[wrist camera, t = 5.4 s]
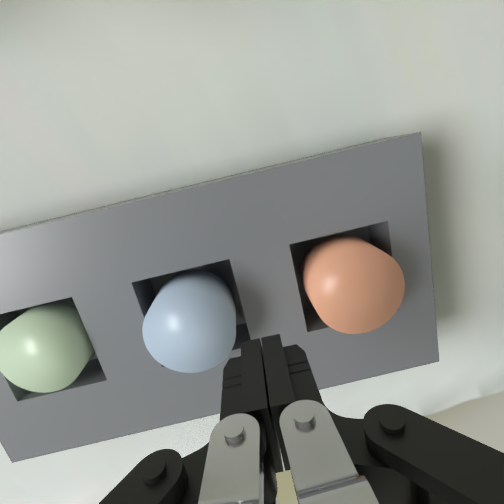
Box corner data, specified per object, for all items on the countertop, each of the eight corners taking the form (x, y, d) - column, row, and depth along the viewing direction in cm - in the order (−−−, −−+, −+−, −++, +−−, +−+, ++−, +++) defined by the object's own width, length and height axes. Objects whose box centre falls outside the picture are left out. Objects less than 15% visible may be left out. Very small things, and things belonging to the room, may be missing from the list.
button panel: (385, 138, 20) (420, 132, 16) (406, 329, 24) (439, 361, 20) (-41, 241, 21) (-104, 259, 17) (47, 415, 24) (12, 462, 21)
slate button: (224, 261, 19) (223, 279, 16) (243, 331, 20) (245, 361, 17) (146, 279, 19) (129, 302, 16) (170, 348, 20) (158, 381, 17)
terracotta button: (372, 225, 19) (400, 237, 16) (382, 298, 20) (408, 322, 17) (293, 244, 19) (305, 260, 16) (308, 315, 20) (321, 343, 17)
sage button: (88, 287, 20) (63, 308, 17) (114, 350, 22) (94, 381, 19) (15, 304, 21) (-23, 329, 17) (46, 367, 22) (15, 400, 19)
